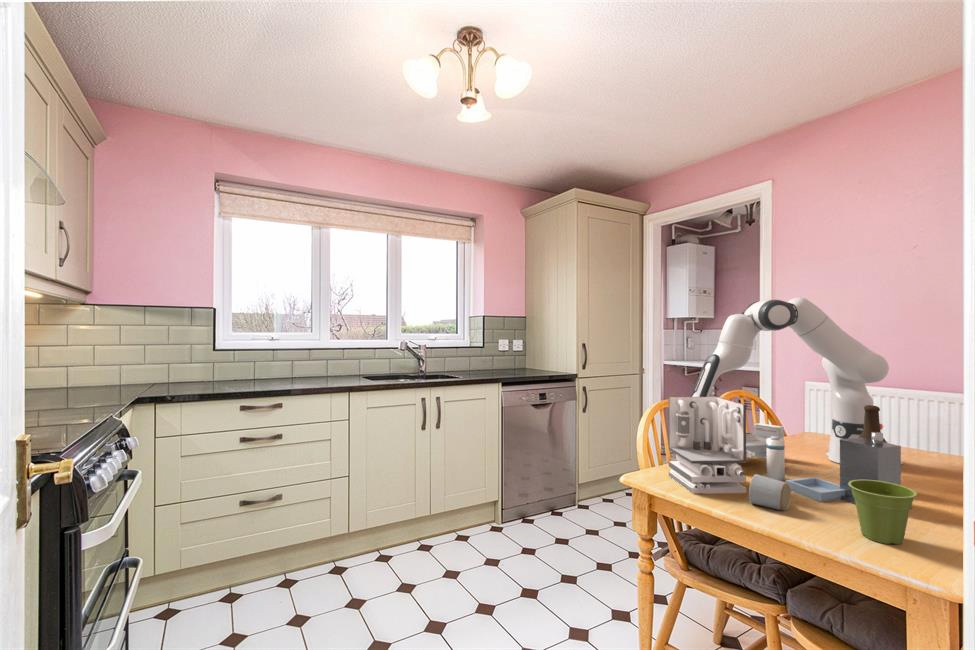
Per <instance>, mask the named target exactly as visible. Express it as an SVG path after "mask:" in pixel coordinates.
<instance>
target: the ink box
mask: <svg viewBox="0 0 975 650" xmlns="http://www.w3.org/2000/svg"><path fill="white" fill-rule="evenodd" d="M784 432H785V429H784V426H782V425H781V426H780V425H775V424H768V423H760V422H758V423H754V424H753V434H755V436H758V437H762V438H765V439H767V438H771V436H777V437H780V439H783V440H784V441H785V438H784V437H785V435H784ZM757 457H759V459H763V458H765V459H764V460H767V454H762V455H755V457H754V458H757Z"/></svg>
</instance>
